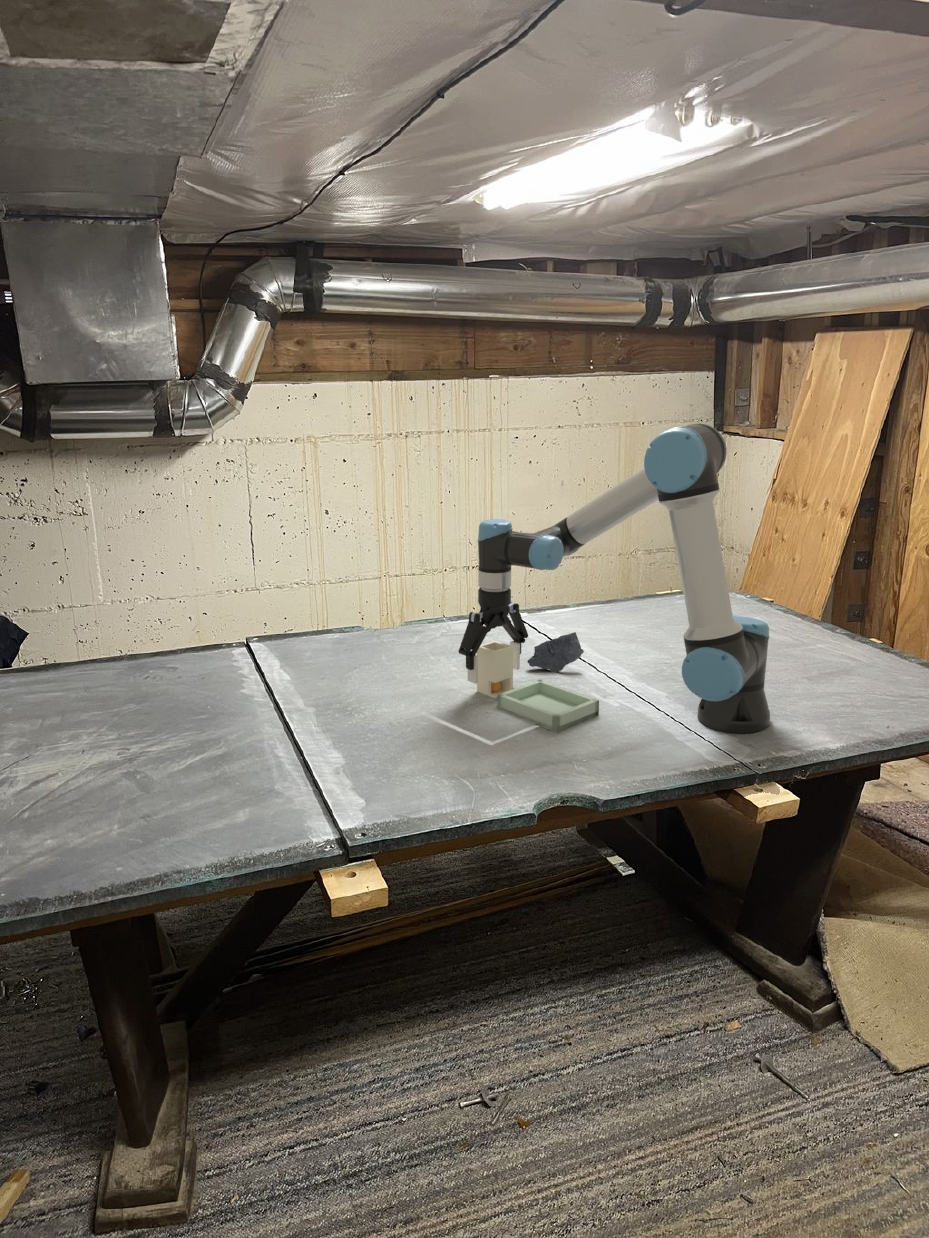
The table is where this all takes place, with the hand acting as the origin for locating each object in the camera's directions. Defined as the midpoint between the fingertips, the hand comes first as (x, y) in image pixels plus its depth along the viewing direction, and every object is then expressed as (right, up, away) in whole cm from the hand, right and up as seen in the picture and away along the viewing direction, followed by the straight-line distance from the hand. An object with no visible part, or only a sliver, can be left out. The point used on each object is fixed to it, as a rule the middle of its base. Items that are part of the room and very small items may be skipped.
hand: (494, 675), depth 211 cm
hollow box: (0, -5, +1) cm, 5 cm away
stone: (+16, 0, +16) cm, 23 cm away
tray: (+12, -8, -10) cm, 17 cm away
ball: (0, -4, +1) cm, 4 cm away
